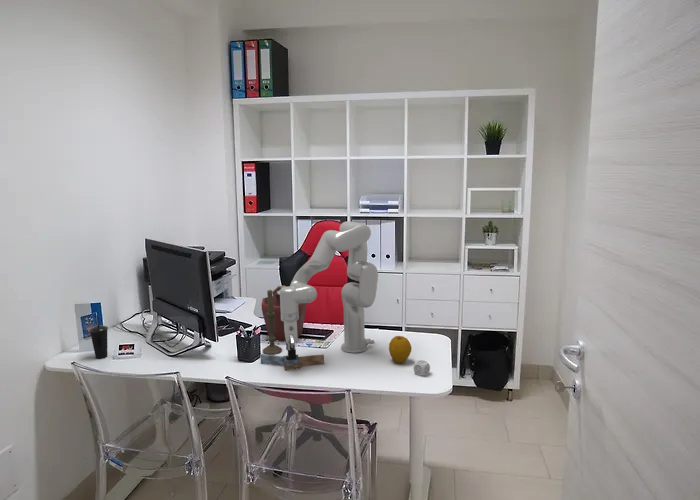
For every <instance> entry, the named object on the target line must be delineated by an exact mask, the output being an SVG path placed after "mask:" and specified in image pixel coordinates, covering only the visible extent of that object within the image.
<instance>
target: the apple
mask: <svg viewBox="0 0 700 500" xmlns="http://www.w3.org/2000/svg"><path fill="white" fill-rule="evenodd" d="M388 351H389V355H390V357H391V359H392V360H393V362H394V363H397V364H403V363H405V362H406V361H407V359H409V356H410V354H411V353H412V344H411V342H410V340H408V338H407V337H405V336H403V335H396V336H394V337H392V338H391V340H390V342H389V343H388Z"/></svg>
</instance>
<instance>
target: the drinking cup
mask: <svg viewBox="0 0 700 500" xmlns="http://www.w3.org/2000/svg"><path fill="white" fill-rule="evenodd" d="M95 316H96V324H97V325H94V326H93V327H91V328H89V330H88V331H89V333H90V337H91V343H92V346H93V350H94V355H95V359H96V360H101V359H102V360H103V359H106V358H107V357H108V329H109V327H108V326H106V325H102V324H101V325H100V322H99V321H100V320H99V315H98V314H96V315H95Z"/></svg>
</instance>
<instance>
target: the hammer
mask: <svg viewBox="0 0 700 500" xmlns="http://www.w3.org/2000/svg"><path fill="white" fill-rule="evenodd" d="M259 357H260V364H261V365H269V364H271V366H277V365H278V366H280V367H283V368H284V371H292V370H291V369H294V370H300V369H301V367H307V366H308V365H309V366H317V365H325V354H323V353H322V354H313V355H305V356H304V355H302V356H299V354H297V353H296V358H295V360H288V354H287V355H277V354H274V355H267V354H264V353H261V354H260V356H259ZM278 366H277V367H278Z"/></svg>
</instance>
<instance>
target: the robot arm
mask: <svg viewBox="0 0 700 500" xmlns="http://www.w3.org/2000/svg"><path fill="white" fill-rule="evenodd" d="M371 235H372V231H371V228H370V227H369V225H367V224H365V223H361V222H355V221H350V220H349V221H348V220H347V221H343V222H342V223H341V224H340V226H339V231H338V230H334V229H333V230H332V229H329V230H326V231H324V232H323V234H322V235H321V237H320V240H319V241H318V243H317V245H316V247H315V249H314V252H313V253H312V256H311V257H310V259H308V260H307V262H305V263H304V264H303V265H302V266H301V267H300V268H299V269H298V270H297V272H296V273H295V275H294V276H293V279H292V280H291V282H290V285H289V286H286V287H283V288H281V290H279V294H280V309H281V321H284V333H285V339H286V341H285V345H286V346H285V349H286V351H287V355H288V358H289V359H294V358H296V355H297V348H296V344H298V343H299V337H298V334H297V320H298V319H299V313H298V304H299V303H307V304H308V303H309V304H311V303H312V302H314V301H315V300H316V299H317V297H318V292H317V288H315V287H314V286H312V285H311V284H310V285H309V284H308V282H309V281H310V279H311V278H312V277H313V276H314V275H316V274H318V273H320V272H322V271H325V270H327V269H328V268H329V266H330V264H331V263H332V260H333V258H334V256H335V254H336V253H337V252H339V253H341V252H348V259H347V269H346V270H347V271H346V275H347V277H348V278H349V279H351V280H353V281H356V282H353V281H352V282H351V281H350V282H348V283H345V284H344V285H343V286H342V288H341V301H342V305H343V306H342V307H343V336H344V337H343V340H344V341H343V343H341V345H340V349H341V350H342V351H343V352H346V353H351V354H359V353H363V352H366V351H367V350H368V348H369V345H374V344H376V343H375V339H371V338H365V309H366V308H370V307H371V306H372V305H373V304H374V302H375V300H376V295H377V290H378V289H377V288H378V281H379V271H378V268H377V266H376V265H375V264H374V263H372V262H368V252H369V250H368V245H367V244H368V243H367V242H368V241H369V239H370V238H371ZM357 282H359V283H357ZM287 345H288V347H289V350H288V348H287Z"/></svg>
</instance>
